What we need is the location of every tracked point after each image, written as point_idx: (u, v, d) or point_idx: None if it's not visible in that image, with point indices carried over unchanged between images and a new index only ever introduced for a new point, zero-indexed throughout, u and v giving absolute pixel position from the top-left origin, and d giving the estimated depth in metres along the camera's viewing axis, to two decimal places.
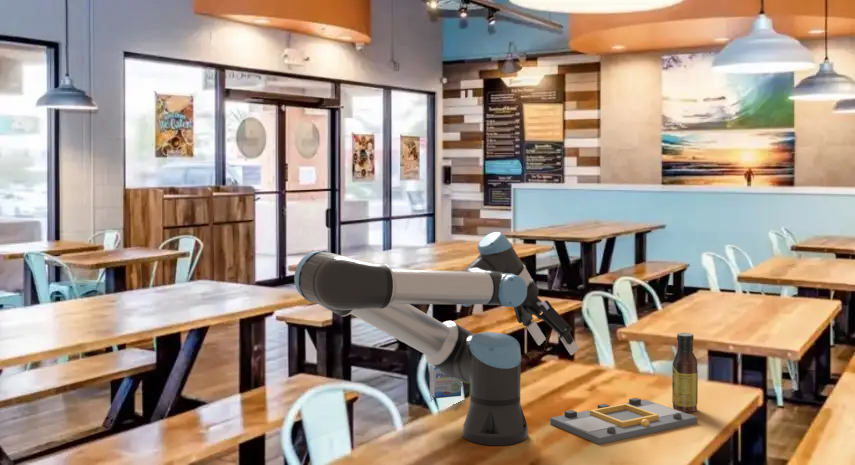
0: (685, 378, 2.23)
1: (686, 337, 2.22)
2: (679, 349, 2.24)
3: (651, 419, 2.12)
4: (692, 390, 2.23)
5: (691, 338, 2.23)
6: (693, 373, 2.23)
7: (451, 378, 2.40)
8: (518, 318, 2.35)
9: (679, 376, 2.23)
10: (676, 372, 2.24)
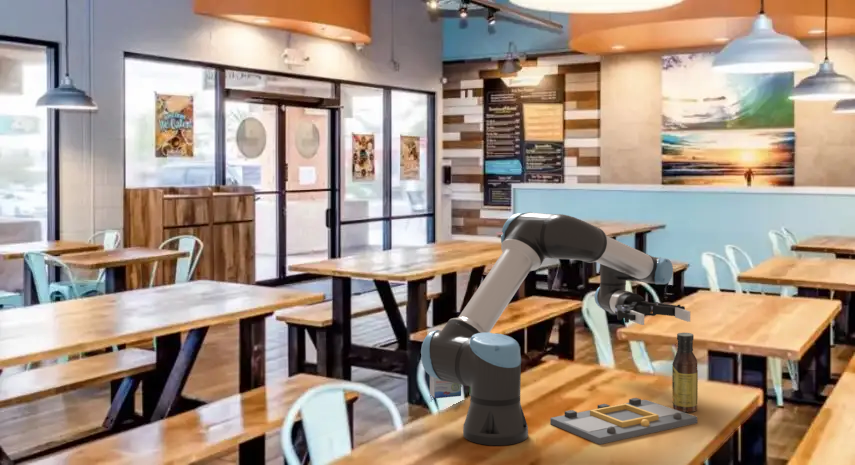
0: (685, 378, 2.23)
1: (686, 337, 2.22)
2: (679, 349, 2.24)
3: (651, 419, 2.12)
4: (692, 390, 2.23)
5: (691, 338, 2.23)
6: (693, 373, 2.23)
7: None
8: (620, 309, 2.41)
9: (679, 376, 2.23)
10: (676, 372, 2.24)
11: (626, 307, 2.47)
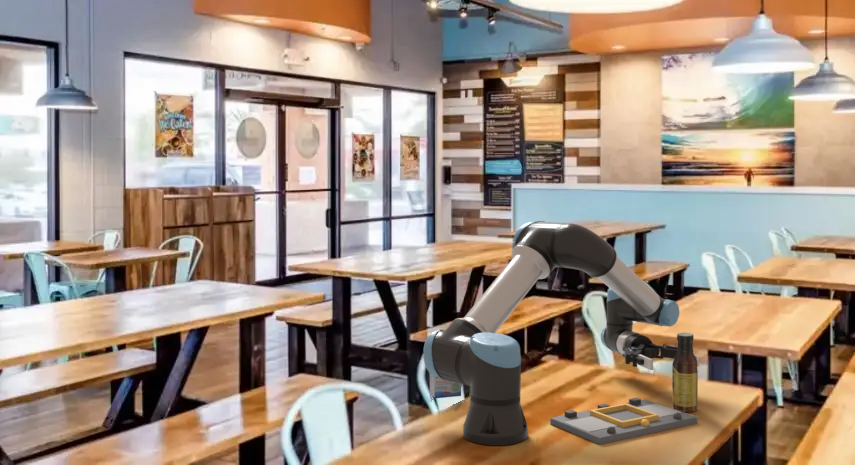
0: (685, 378, 2.23)
1: (686, 337, 2.22)
2: (679, 349, 2.24)
3: (651, 419, 2.12)
4: (692, 390, 2.23)
5: (691, 338, 2.23)
6: (693, 373, 2.23)
7: None
8: (628, 353, 2.38)
9: (679, 376, 2.23)
10: (676, 372, 2.24)
11: (634, 350, 2.44)
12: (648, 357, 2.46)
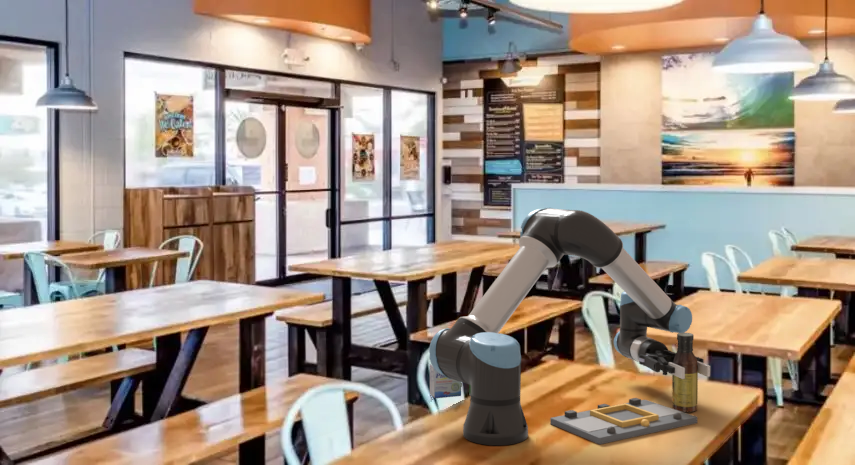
0: (685, 378, 2.23)
1: (686, 337, 2.22)
2: (679, 349, 2.24)
3: (651, 419, 2.12)
4: (692, 390, 2.23)
5: (691, 338, 2.23)
6: (693, 373, 2.23)
7: None
8: (655, 360, 2.28)
9: None
10: None
11: (650, 356, 2.35)
12: None
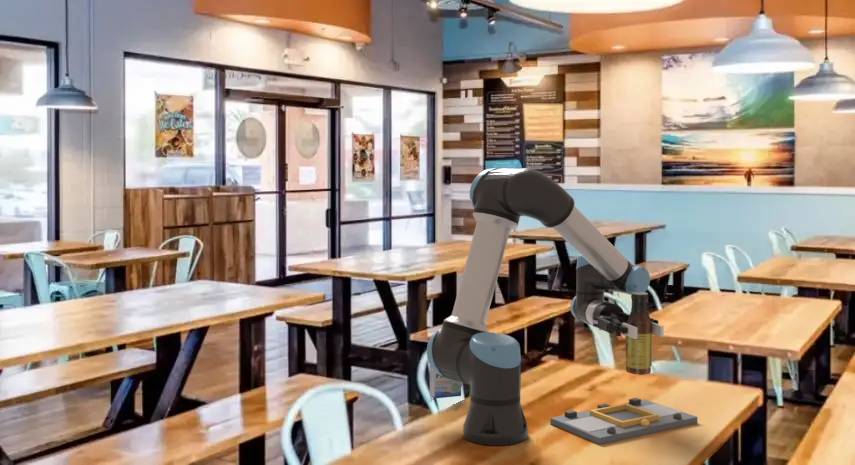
0: (639, 338, 2.13)
1: (640, 296, 2.13)
2: (633, 308, 2.15)
3: (651, 419, 2.12)
4: (645, 351, 2.14)
5: (645, 297, 2.13)
6: (647, 333, 2.13)
7: None
8: (608, 321, 2.19)
9: None
10: None
11: (604, 318, 2.26)
12: None
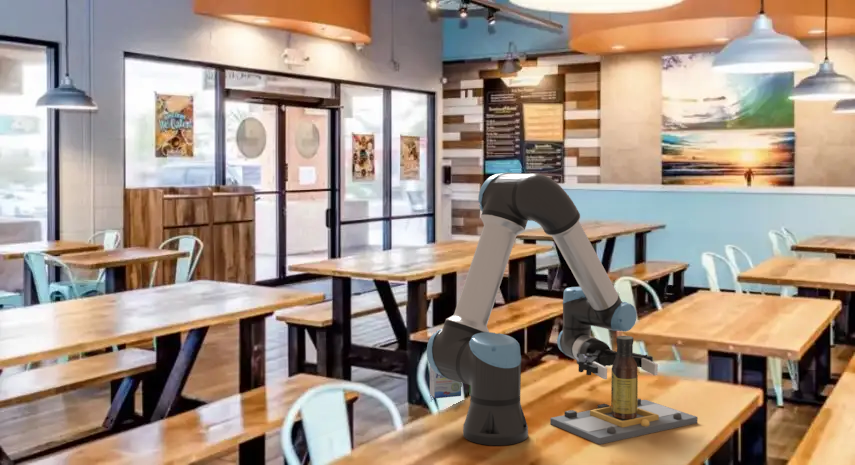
0: (624, 383, 2.12)
1: (625, 340, 2.12)
2: (618, 353, 2.13)
3: (651, 419, 2.12)
4: (631, 396, 2.12)
5: (630, 341, 2.12)
6: (632, 378, 2.12)
7: None
8: (581, 360, 2.18)
9: (618, 382, 2.12)
10: (615, 377, 2.13)
11: (589, 356, 2.24)
12: (605, 364, 2.26)
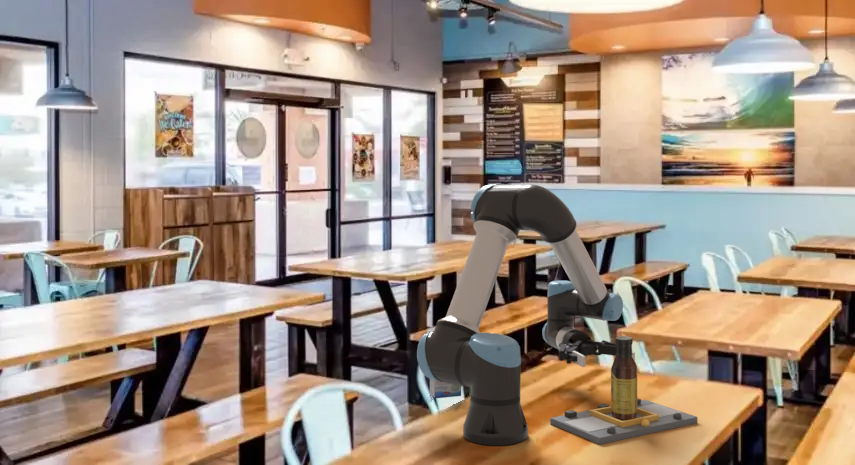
0: (624, 384, 2.12)
1: (624, 341, 2.11)
2: (617, 353, 2.13)
3: (651, 419, 2.12)
4: (630, 396, 2.12)
5: (630, 342, 2.12)
6: (632, 379, 2.12)
7: None
8: (562, 349, 2.29)
9: (617, 382, 2.12)
10: (614, 378, 2.13)
11: (570, 346, 2.36)
12: (586, 354, 2.38)
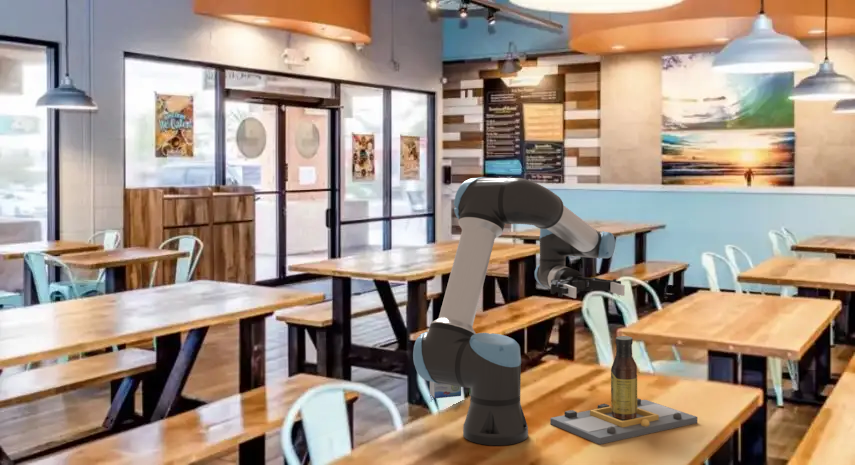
0: (624, 384, 2.12)
1: (624, 341, 2.11)
2: (617, 353, 2.13)
3: (651, 419, 2.12)
4: (630, 396, 2.12)
5: (630, 342, 2.12)
6: (632, 379, 2.12)
7: None
8: (553, 283, 2.35)
9: (617, 382, 2.12)
10: (614, 378, 2.13)
11: (562, 282, 2.42)
12: (577, 290, 2.44)
